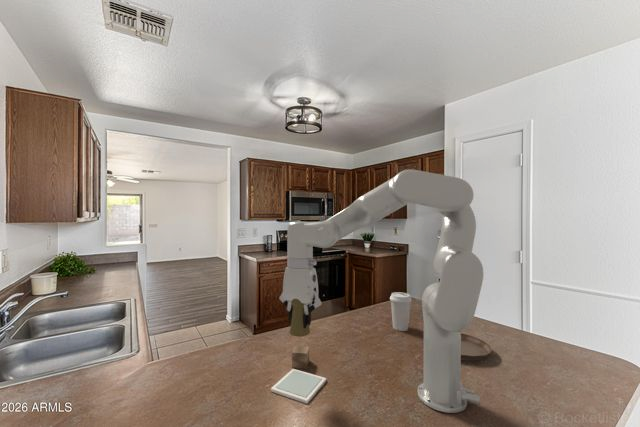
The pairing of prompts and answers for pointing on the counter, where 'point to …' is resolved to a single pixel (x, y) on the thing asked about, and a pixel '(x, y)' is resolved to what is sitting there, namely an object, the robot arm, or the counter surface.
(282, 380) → the plate
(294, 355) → the walnut block
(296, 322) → the olive rounded tall piece
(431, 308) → the robot arm
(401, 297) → the coffee cup
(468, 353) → the plant saucer
